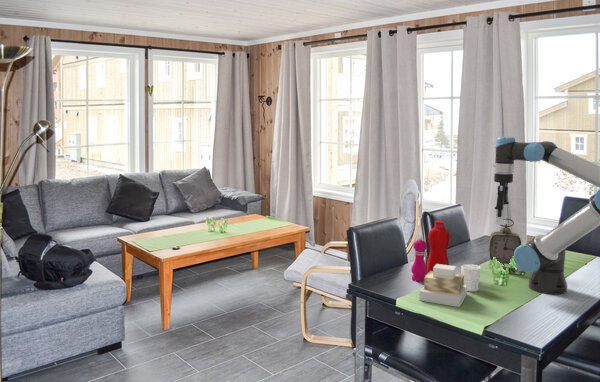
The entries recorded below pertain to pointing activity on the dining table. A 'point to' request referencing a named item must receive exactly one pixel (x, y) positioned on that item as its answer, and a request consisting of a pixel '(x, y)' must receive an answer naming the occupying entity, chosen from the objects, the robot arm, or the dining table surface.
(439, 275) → the white block
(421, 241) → the pepper mill
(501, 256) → the tabletop clock
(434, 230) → the water bottle
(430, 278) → the pallet
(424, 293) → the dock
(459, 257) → the dining table surface
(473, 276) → the white cup
